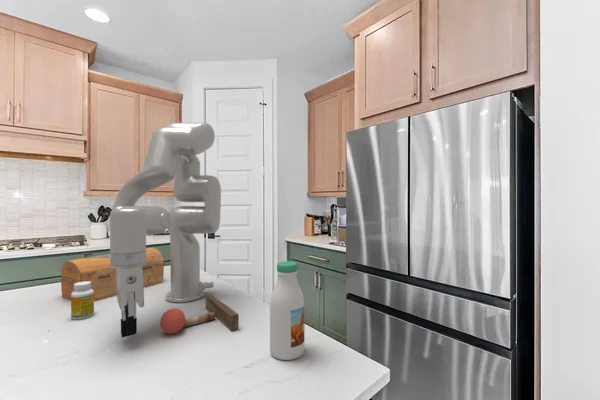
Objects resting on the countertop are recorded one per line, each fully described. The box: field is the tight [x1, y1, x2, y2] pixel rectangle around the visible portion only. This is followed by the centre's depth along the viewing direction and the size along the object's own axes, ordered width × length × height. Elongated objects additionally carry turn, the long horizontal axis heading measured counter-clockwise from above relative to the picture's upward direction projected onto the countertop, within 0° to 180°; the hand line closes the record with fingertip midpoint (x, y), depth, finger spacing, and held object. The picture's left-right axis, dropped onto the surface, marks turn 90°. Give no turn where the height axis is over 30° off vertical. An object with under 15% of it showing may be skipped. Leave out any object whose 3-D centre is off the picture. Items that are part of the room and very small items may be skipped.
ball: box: [159, 308, 186, 334], centre depth 76 cm, size 6×6×6 cm
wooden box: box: [60, 247, 165, 302], centre depth 113 cm, size 30×16×14 cm, turn 149°
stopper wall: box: [205, 294, 240, 332], centre depth 85 cm, size 2×20×4 cm, turn 36°
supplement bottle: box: [70, 281, 95, 321], centre depth 87 cm, size 5×5×10 cm
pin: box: [182, 312, 217, 329], centre depth 82 cm, size 2×2×9 cm
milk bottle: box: [269, 261, 306, 361], centre depth 67 cm, size 8×8×20 cm
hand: (128, 334), depth 72 cm, fingers closed
